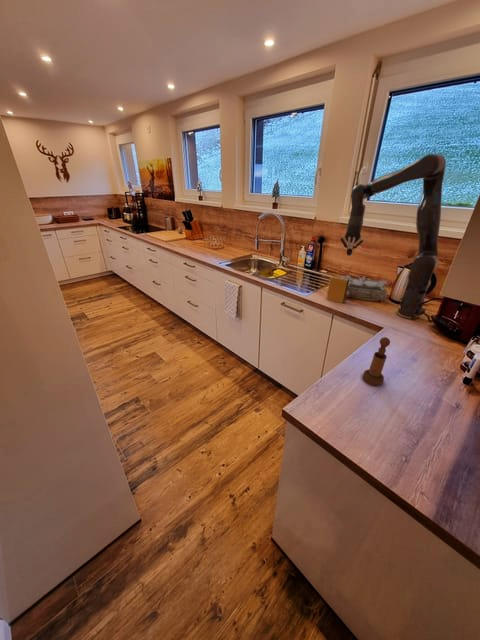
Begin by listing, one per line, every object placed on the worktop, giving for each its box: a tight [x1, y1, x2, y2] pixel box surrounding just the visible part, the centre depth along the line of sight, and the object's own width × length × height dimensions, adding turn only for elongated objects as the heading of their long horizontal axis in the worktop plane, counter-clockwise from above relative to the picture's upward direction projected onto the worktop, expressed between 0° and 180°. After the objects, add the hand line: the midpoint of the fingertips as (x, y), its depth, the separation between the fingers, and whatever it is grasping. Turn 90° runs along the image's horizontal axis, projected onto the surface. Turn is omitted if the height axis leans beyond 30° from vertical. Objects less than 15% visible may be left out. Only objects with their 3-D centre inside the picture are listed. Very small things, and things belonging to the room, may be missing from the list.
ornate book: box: [340, 274, 390, 303], centre depth 163 cm, size 23×10×30 cm
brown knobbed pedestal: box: [362, 336, 391, 387], centre depth 91 cm, size 7×6×18 cm
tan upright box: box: [326, 275, 350, 304], centre depth 154 cm, size 10×3×14 cm, turn 58°
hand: (348, 255), depth 155 cm, fingers closed
